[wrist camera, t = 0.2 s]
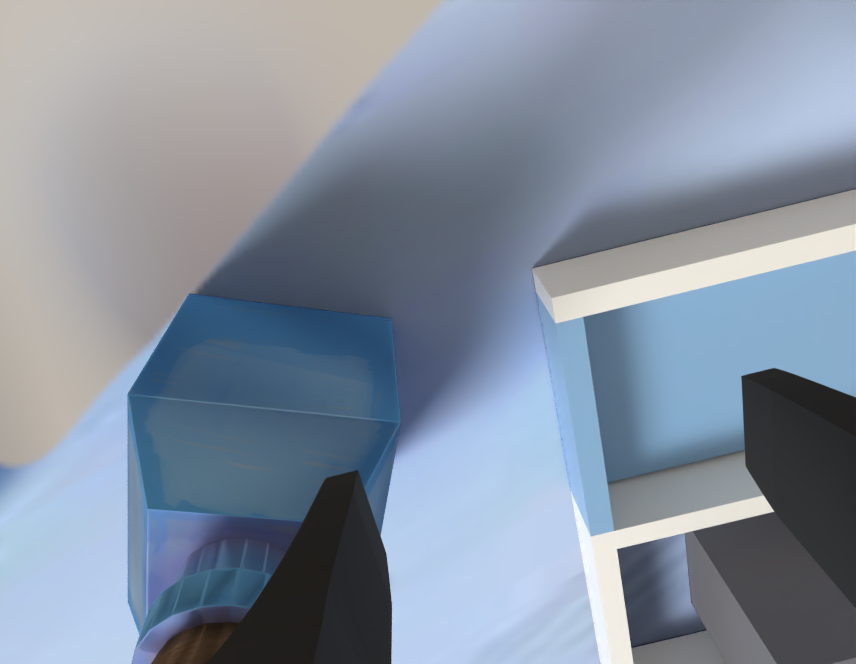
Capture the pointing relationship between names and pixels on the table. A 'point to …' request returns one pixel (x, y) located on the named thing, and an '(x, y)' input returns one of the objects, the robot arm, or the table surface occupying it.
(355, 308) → the table surface
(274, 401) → the perfume bottle
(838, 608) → the plug
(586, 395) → the two-rail blue tray
